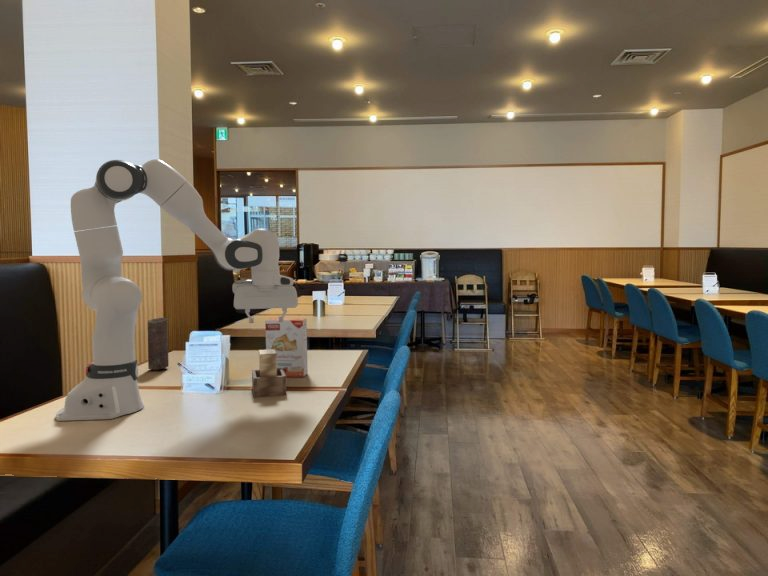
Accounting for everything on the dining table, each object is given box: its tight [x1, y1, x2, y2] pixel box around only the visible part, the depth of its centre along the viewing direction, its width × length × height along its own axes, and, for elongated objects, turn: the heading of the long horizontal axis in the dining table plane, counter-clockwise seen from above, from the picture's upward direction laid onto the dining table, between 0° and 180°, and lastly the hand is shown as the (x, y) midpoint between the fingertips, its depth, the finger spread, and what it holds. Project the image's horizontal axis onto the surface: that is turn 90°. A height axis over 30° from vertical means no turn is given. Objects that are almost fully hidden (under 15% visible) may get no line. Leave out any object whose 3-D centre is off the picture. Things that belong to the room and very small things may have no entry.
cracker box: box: [265, 317, 309, 378], centre depth 204 cm, size 14×6×21 cm, turn 83°
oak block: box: [258, 349, 277, 377], centre depth 182 cm, size 5×8×12 cm, turn 15°
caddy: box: [251, 368, 287, 398], centre depth 182 cm, size 10×13×6 cm
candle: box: [147, 317, 170, 371], centre depth 218 cm, size 8×7×20 cm
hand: (266, 322), depth 181 cm, fingers open, 8 cm apart
